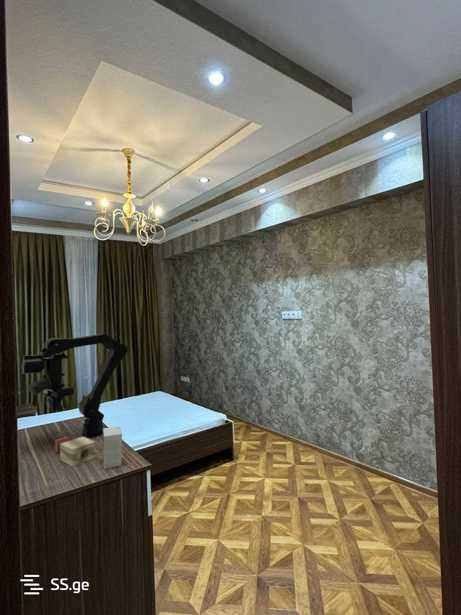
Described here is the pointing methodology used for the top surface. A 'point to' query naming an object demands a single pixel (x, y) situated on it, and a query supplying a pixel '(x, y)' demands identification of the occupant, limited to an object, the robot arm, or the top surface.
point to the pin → (62, 440)
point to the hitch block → (77, 451)
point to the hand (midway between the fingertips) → (53, 411)
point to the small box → (112, 447)
